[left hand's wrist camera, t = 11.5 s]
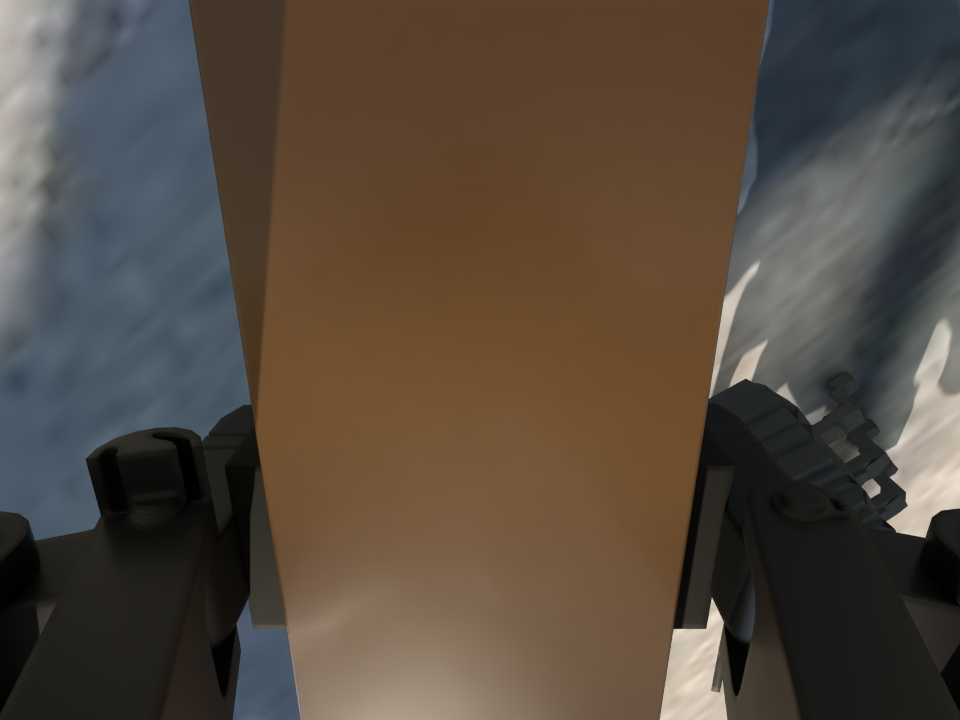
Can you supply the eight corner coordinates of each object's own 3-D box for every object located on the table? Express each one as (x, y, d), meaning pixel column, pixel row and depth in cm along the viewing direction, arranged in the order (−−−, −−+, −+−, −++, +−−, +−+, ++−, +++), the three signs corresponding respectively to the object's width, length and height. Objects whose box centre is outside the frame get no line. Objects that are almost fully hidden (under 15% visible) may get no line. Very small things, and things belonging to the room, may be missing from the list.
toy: (779, 234, 31) (1142, 385, 14) (951, 584, 39) (1311, 947, 22) (551, 371, 34) (622, 637, 17) (756, 671, 42) (944, 1052, 25)
